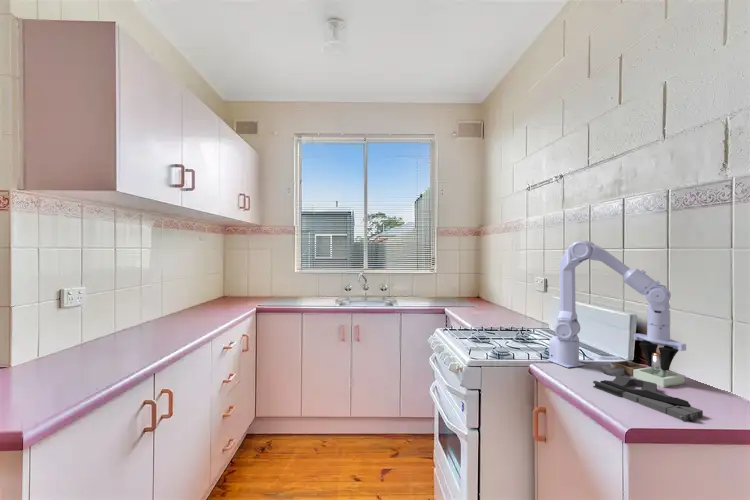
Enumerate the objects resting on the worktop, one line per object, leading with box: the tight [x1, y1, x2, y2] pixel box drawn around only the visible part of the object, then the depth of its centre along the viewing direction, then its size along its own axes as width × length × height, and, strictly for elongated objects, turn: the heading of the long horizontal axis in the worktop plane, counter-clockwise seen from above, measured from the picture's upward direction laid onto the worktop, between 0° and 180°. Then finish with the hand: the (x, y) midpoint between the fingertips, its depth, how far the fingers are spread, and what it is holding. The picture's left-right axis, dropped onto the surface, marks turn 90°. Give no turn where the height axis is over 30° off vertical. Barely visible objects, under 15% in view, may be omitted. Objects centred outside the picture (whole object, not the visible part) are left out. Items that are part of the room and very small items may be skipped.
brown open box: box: [602, 360, 648, 377], centre depth 126 cm, size 7×14×3 cm, turn 109°
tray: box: [632, 366, 685, 388], centre depth 118 cm, size 9×9×2 cm
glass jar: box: [651, 351, 666, 378], centre depth 118 cm, size 4×4×8 cm
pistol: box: [592, 375, 704, 423], centre depth 104 cm, size 2×26×15 cm
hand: (658, 368), depth 118 cm, fingers open, 4 cm apart
